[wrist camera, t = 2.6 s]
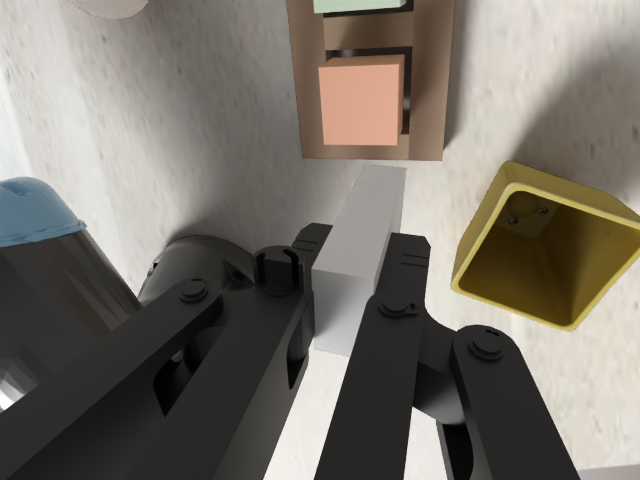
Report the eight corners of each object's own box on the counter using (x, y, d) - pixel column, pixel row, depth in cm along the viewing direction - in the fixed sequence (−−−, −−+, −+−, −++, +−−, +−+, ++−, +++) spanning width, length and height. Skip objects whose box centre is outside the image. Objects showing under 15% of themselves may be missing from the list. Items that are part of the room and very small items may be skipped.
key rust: (336, 127, 32) (324, 144, 29) (332, 57, 29) (318, 67, 26) (402, 127, 31) (397, 145, 27) (404, 54, 28) (398, 64, 25)
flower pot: (496, 132, 31) (511, 180, 24) (612, 170, 30) (664, 232, 23) (447, 226, 36) (447, 290, 29) (545, 260, 35) (571, 335, 28)
